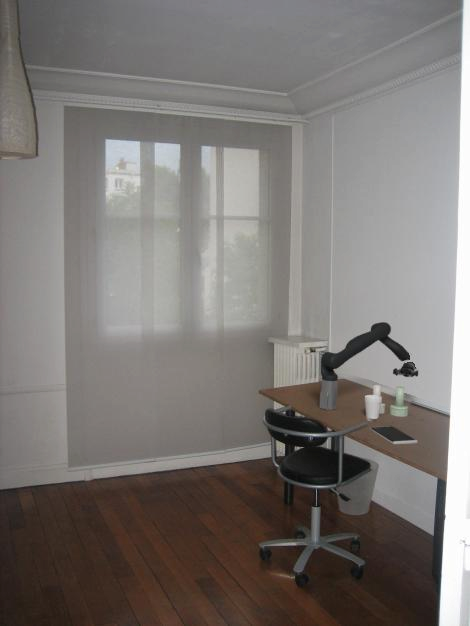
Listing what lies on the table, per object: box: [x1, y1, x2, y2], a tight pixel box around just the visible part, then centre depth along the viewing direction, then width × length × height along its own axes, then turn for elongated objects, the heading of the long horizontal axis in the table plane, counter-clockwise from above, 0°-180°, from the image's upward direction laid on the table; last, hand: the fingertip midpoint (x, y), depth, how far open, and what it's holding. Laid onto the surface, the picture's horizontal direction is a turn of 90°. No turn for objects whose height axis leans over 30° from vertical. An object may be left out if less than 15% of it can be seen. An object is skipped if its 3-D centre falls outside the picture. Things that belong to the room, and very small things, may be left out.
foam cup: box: [364, 394, 383, 422], centre depth 362 cm, size 10×9×13 cm
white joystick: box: [372, 383, 386, 415], centre depth 374 cm, size 10×10×17 cm
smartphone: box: [369, 425, 418, 445], centre depth 333 cm, size 13×27×2 cm, turn 14°
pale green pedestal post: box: [389, 386, 409, 418], centre depth 369 cm, size 10×10×17 cm
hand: (404, 374), depth 378 cm, fingers open, 8 cm apart
